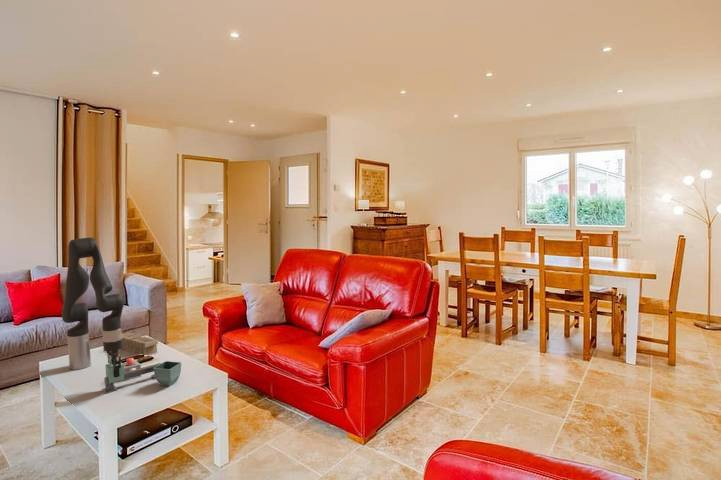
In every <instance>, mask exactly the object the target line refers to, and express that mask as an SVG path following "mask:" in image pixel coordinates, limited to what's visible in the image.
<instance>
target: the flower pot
mask: <svg viewBox="0 0 721 480" xmlns="http://www.w3.org/2000/svg"><path fill="white" fill-rule="evenodd" d="M160 363H161V362H160ZM181 370H182V362H181V361H169V360H165V361H163V362H162V363H161V364H160V365H158V366H156V367H155V368H154V373H155V377H156V379H155V380H156V381H157V383H158V384H160V386H166V387H167V386H168V387H169V386H172V385H174V384H175V383H176V382H177V381H178V380H179V378H180V375H181Z"/></svg>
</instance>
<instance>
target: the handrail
mask: <svg viewBox="0 0 721 480" xmlns="http://www.w3.org/2000/svg"><path fill="white" fill-rule="evenodd" d="M160 364H161V362H159V363H156V364H151V365H147V366H143V367H141V368H139V369H136V370H132V371H128V372H124V379H128V378H132V377H135V376H139V375H141V376H143V375H146V374H150V373H152V372H154V368H155V367H156V366H158V365H160ZM151 378H153V379H154V380H156V377H155V373H154V374H151ZM103 379H104V388H102V389H101V391H102V392H103V393H104V395H106V394H109V393H112V392H116V391H118V387H116V386H115V384H114V383H116V382H117V383H118V382H120V381H123V380H124V379H123V380H119V381H115V382H112V383H109V379H108V377H106V376H105V377H104V378H103ZM124 381H125V380H124Z"/></svg>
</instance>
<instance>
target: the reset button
mask: <svg viewBox="0 0 721 480" xmlns="http://www.w3.org/2000/svg"><path fill="white" fill-rule="evenodd" d="M125 361H126V362H125V363H127V366H131V365H134V361H135V357H129V358H126V359H125Z"/></svg>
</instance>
